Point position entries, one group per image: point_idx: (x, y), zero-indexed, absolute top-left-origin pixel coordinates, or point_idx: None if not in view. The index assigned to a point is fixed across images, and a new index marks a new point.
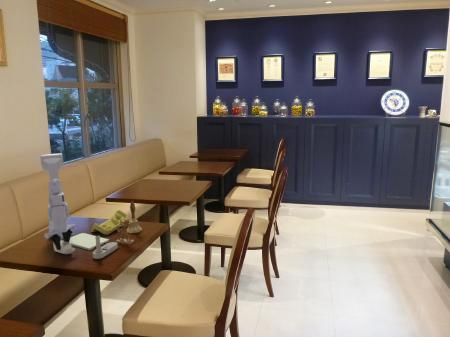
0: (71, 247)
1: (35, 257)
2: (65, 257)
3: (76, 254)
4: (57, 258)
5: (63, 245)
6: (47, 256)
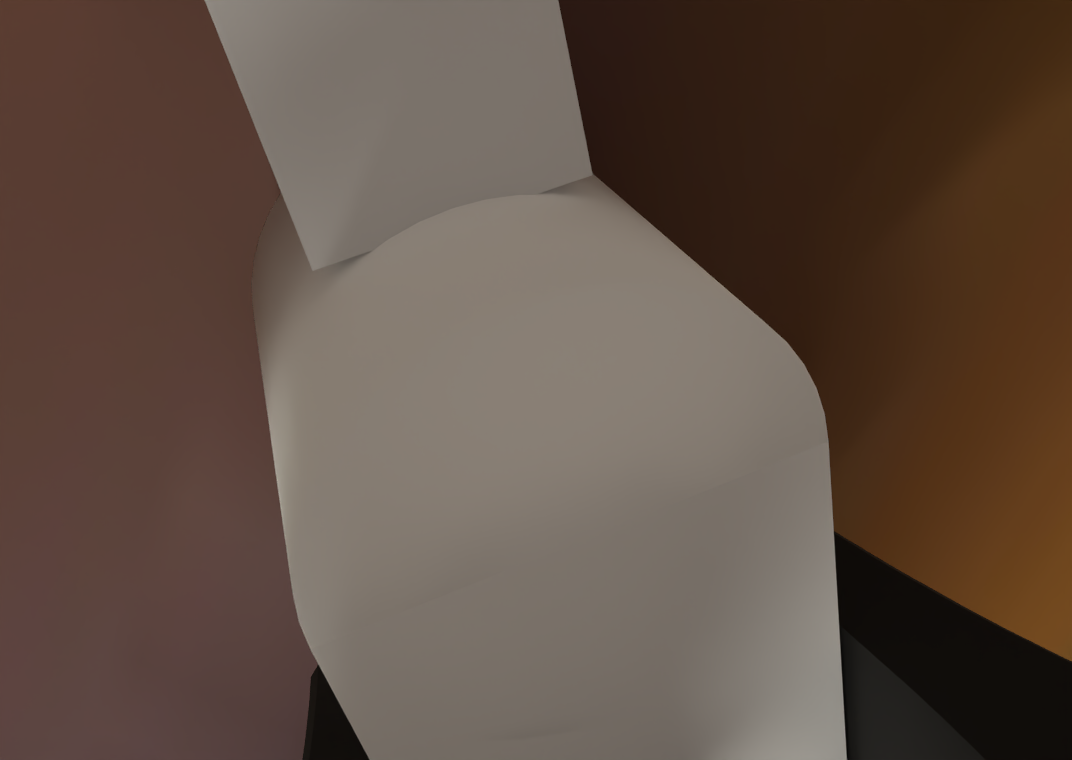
0: (323, 261)
1: (1043, 610)
2: (602, 51)
3: (90, 9)
4: (819, 184)
5: (801, 487)
6: (886, 521)
